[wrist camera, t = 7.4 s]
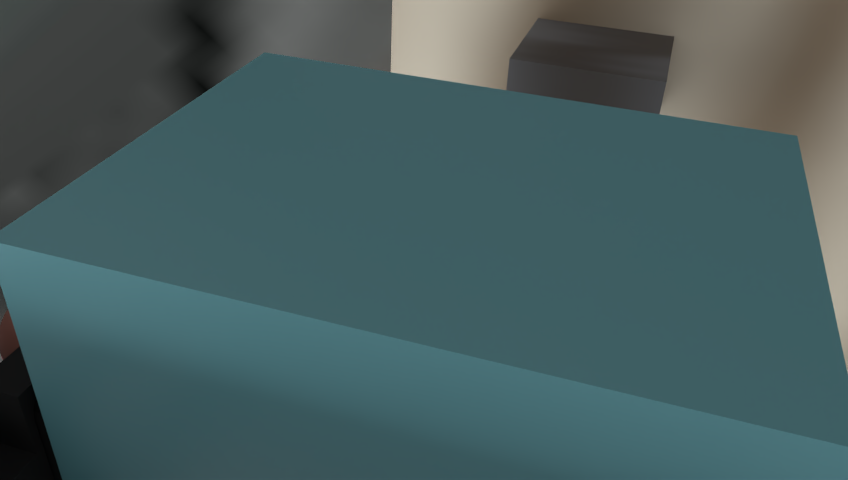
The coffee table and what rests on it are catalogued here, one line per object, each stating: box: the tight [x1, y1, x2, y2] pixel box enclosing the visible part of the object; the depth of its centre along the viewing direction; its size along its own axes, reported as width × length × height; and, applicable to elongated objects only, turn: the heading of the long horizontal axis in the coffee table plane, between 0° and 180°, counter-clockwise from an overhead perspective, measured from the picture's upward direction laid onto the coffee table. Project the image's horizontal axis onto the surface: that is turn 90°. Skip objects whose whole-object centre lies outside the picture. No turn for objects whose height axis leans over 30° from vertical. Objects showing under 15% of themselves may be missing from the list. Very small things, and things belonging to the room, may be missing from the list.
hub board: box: [391, 0, 848, 373], centre depth 22 cm, size 22×17×6 cm
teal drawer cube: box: [0, 53, 848, 480], centre depth 10 cm, size 7×7×5 cm
